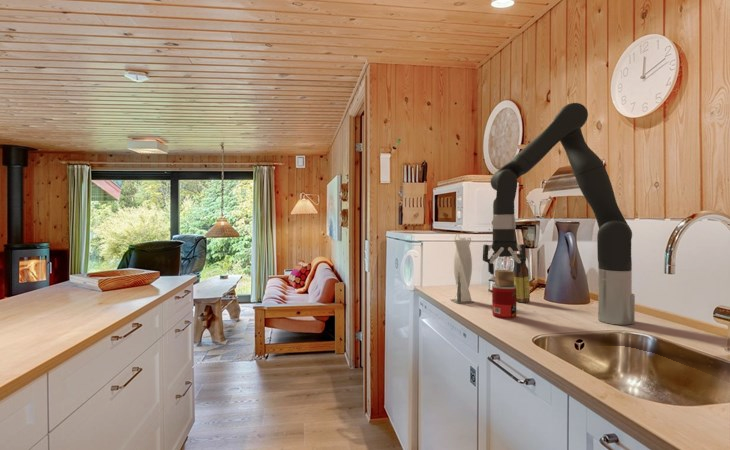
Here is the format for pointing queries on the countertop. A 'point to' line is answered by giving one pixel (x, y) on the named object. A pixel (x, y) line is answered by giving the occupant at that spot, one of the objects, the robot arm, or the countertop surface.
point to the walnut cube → (504, 277)
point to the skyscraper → (462, 270)
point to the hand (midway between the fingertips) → (504, 273)
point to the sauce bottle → (522, 283)
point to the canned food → (504, 301)
